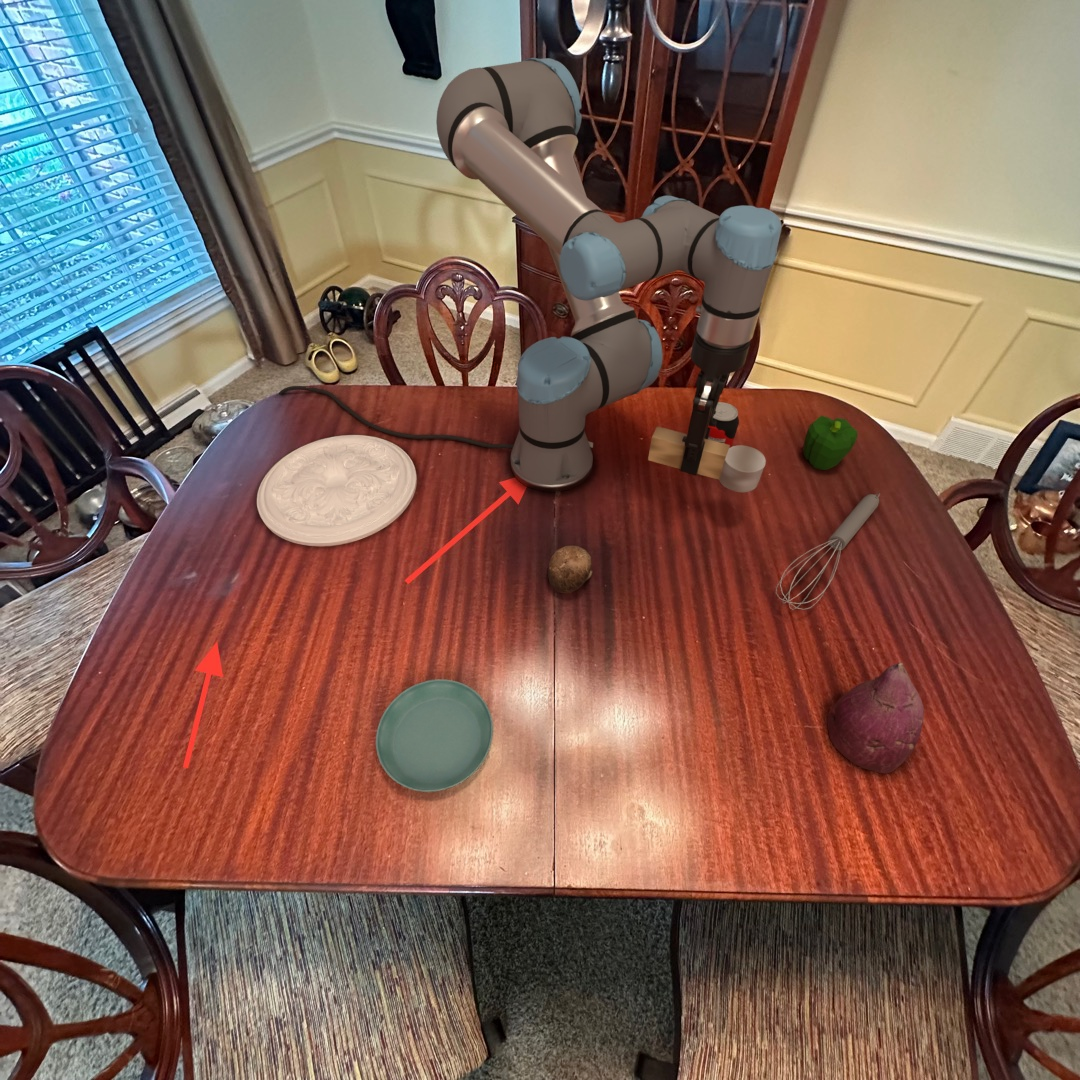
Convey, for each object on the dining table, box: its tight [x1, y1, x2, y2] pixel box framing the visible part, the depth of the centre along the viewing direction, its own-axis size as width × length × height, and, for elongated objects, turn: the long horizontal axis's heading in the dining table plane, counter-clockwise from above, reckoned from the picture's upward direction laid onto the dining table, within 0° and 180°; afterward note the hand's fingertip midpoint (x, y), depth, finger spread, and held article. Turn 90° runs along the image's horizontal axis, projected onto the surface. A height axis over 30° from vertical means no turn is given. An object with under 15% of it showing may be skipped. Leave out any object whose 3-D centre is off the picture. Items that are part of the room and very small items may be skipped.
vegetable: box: [826, 662, 925, 774], centre depth 75 cm, size 10×10×15 cm
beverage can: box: [708, 401, 740, 448], centre depth 108 cm, size 6×6×12 cm
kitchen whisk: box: [775, 492, 881, 611], centre depth 96 cm, size 6×34×6 cm, turn 137°
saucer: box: [375, 678, 494, 793], centre depth 77 cm, size 15×15×3 cm
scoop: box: [647, 425, 767, 493], centre depth 97 cm, size 18×6×5 cm, turn 66°
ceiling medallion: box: [256, 434, 418, 547], centre depth 108 cm, size 28×28×3 cm
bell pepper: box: [802, 415, 858, 471], centre depth 110 cm, size 8×8×10 cm
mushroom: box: [546, 545, 593, 594], centre depth 93 cm, size 8×8×6 cm
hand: (691, 464), depth 100 cm, fingers closed on scoop, 3 cm apart
